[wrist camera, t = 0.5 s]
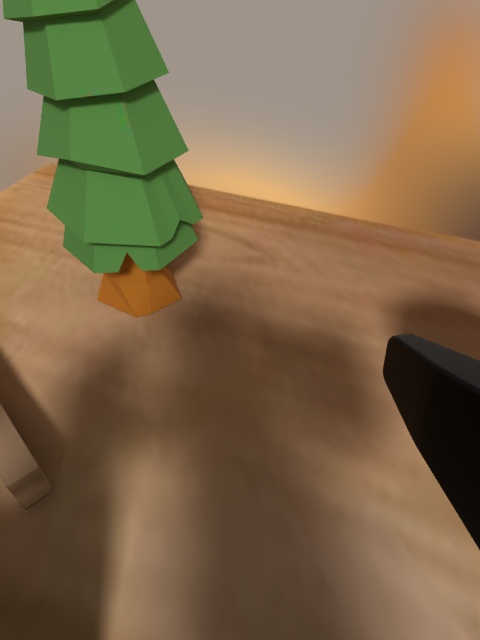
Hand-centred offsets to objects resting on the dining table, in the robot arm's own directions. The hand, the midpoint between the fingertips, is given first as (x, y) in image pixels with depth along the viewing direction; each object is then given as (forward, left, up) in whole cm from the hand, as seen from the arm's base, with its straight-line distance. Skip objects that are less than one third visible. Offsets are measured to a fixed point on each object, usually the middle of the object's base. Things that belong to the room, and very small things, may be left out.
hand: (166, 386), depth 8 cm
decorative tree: (+20, +6, -16) cm, 26 cm away
